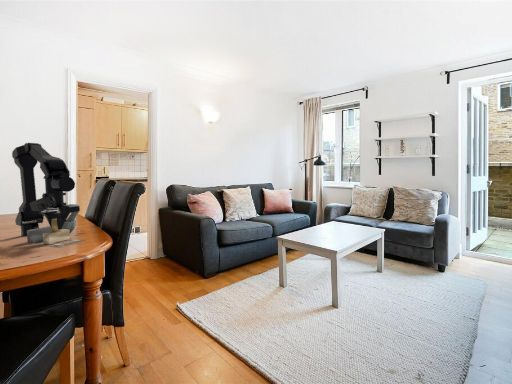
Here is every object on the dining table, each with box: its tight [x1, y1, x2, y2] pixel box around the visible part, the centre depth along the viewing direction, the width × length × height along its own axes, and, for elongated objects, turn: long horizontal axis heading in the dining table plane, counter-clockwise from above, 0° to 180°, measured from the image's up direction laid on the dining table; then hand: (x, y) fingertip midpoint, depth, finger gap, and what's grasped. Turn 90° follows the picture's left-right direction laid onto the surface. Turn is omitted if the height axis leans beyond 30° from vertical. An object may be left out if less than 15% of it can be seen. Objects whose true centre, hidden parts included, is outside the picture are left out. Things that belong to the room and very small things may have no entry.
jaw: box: [43, 219, 71, 244], centre depth 114 cm, size 3×9×9 cm, turn 165°
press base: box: [23, 225, 87, 249], centre depth 114 cm, size 19×12×6 cm, turn 75°
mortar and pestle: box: [61, 211, 80, 234], centre depth 130 cm, size 11×9×12 cm
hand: (56, 229), depth 113 cm, fingers closed on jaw, 3 cm apart
